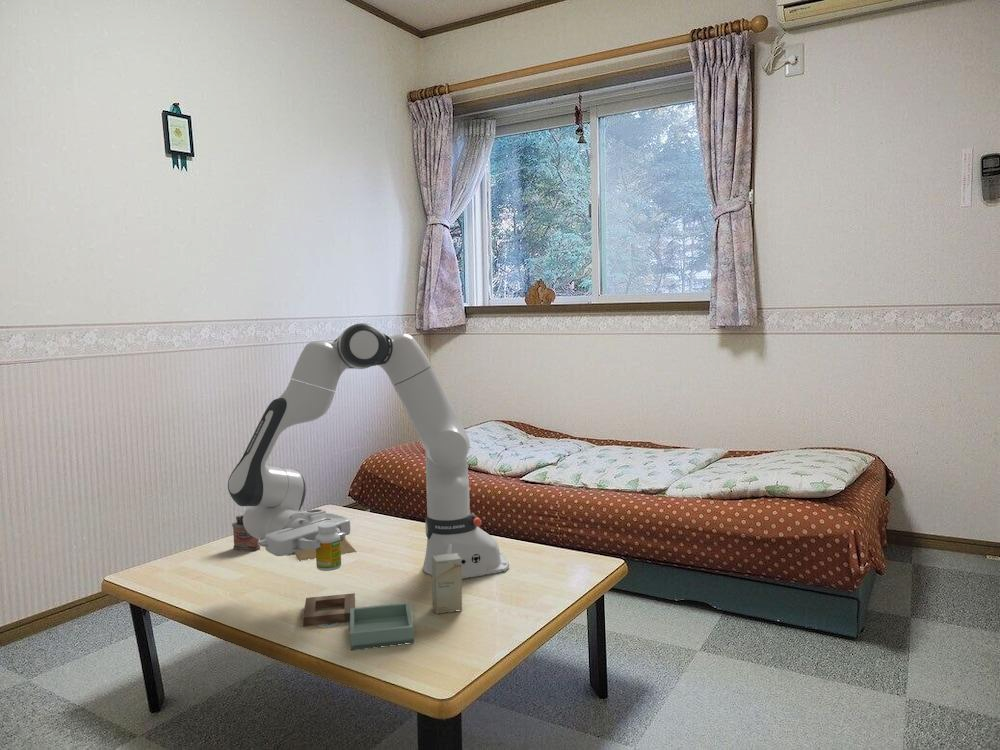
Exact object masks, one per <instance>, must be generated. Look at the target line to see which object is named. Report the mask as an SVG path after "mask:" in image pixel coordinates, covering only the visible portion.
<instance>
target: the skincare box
mask: <svg viewBox="0 0 1000 750" xmlns="http://www.w3.org/2000/svg"><path fill="white" fill-rule="evenodd" d="M462 580H463V579H462V570H461V557H460V556H459V554H458V553H452V554H442V555H432V575H431V587H432V588H431V594H432V595H431V600H432V601H431V602H432V606H431V607H432V610H433V611H434V613H435V614H437V615H438V614H439V613H440V614H446V613H445V612H448V613H454V612H453V611H456V610H462V611H463V594H462V593H463V592H462V591H463V589H462V588H463V586H462V585H463V583H462V582H463V581H462Z"/></svg>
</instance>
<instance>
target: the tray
mask: <svg viewBox="0 0 1000 750" xmlns="http://www.w3.org/2000/svg"><path fill="white" fill-rule="evenodd" d="M349 625H350V626H349V629H350V630H349V638H350V651H356V650H355V649H360V650H366V649H365V648H369V649H374V648H373V647H378V648H382V647H381V646H387V647H391V646H390V645H396V646H399V645H398V644H405V643H414V644H415V633H414V632H415V631H414V628H415V627H414V622H413V617H412V611H411V607H410V602H401V603H391V604H390V603H389V604H382V605H381V604H380V605H379V604H378V605H372V606H371V605H370V606H363V607H362V606H360V607H359V606H358V607H355V608H350V622H349ZM405 645H406V644H405Z"/></svg>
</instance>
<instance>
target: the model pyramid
mask: <svg viewBox="0 0 1000 750" xmlns="http://www.w3.org/2000/svg"><path fill="white" fill-rule="evenodd" d="M340 543H341V555H346V553H347V554H353V552H354V553H357V552H358V551H357V550H356V549H355V548H354V546H353V545H352V544H351V543H350V542H349V540H348V539H347V538H346V537H345V540H343V541H340ZM294 553H295V554H293V553H291V555H294V556H295V555H296V556H295V557H297V558H296V559H298V560H299V561H298V560H297V561H298V562H302V561H301V560H304V561H309V560H308V559H310V560H316V559H315V558H316V550H312V549H303V550H300V551H297V552H294Z"/></svg>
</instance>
